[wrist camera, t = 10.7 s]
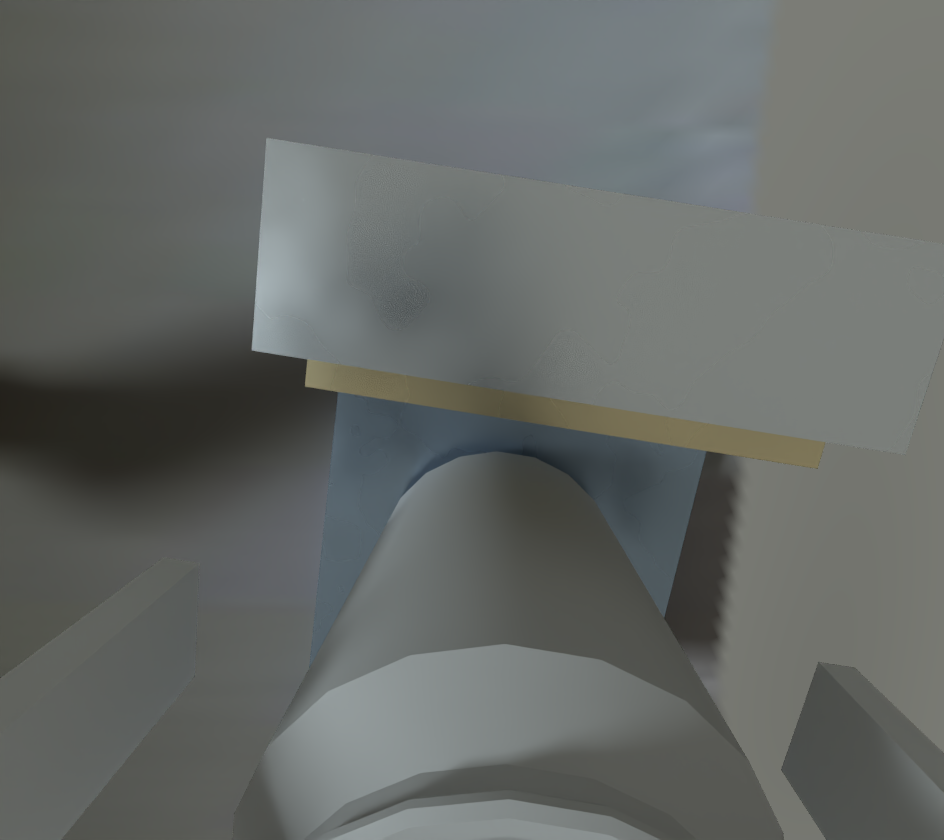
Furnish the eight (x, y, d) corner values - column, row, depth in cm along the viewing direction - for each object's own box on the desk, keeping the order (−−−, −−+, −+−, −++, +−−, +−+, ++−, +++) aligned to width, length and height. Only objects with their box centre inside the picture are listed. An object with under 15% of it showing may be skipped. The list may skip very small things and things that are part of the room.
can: (613, 445, 16) (960, 783, 4) (602, 653, 17) (838, 1352, 6) (382, 443, 16) (89, 755, 4) (389, 648, 18) (181, 1303, 6)
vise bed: (368, 191, 16) (210, 15, 7) (742, 249, 16) (1070, 148, 7) (310, 726, 19) (160, 1058, 11) (611, 777, 19) (712, 1154, 11)
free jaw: (385, 238, 15) (266, 137, 7) (715, 290, 15) (973, 248, 7) (371, 357, 15) (248, 388, 8) (687, 408, 15) (892, 492, 8)
